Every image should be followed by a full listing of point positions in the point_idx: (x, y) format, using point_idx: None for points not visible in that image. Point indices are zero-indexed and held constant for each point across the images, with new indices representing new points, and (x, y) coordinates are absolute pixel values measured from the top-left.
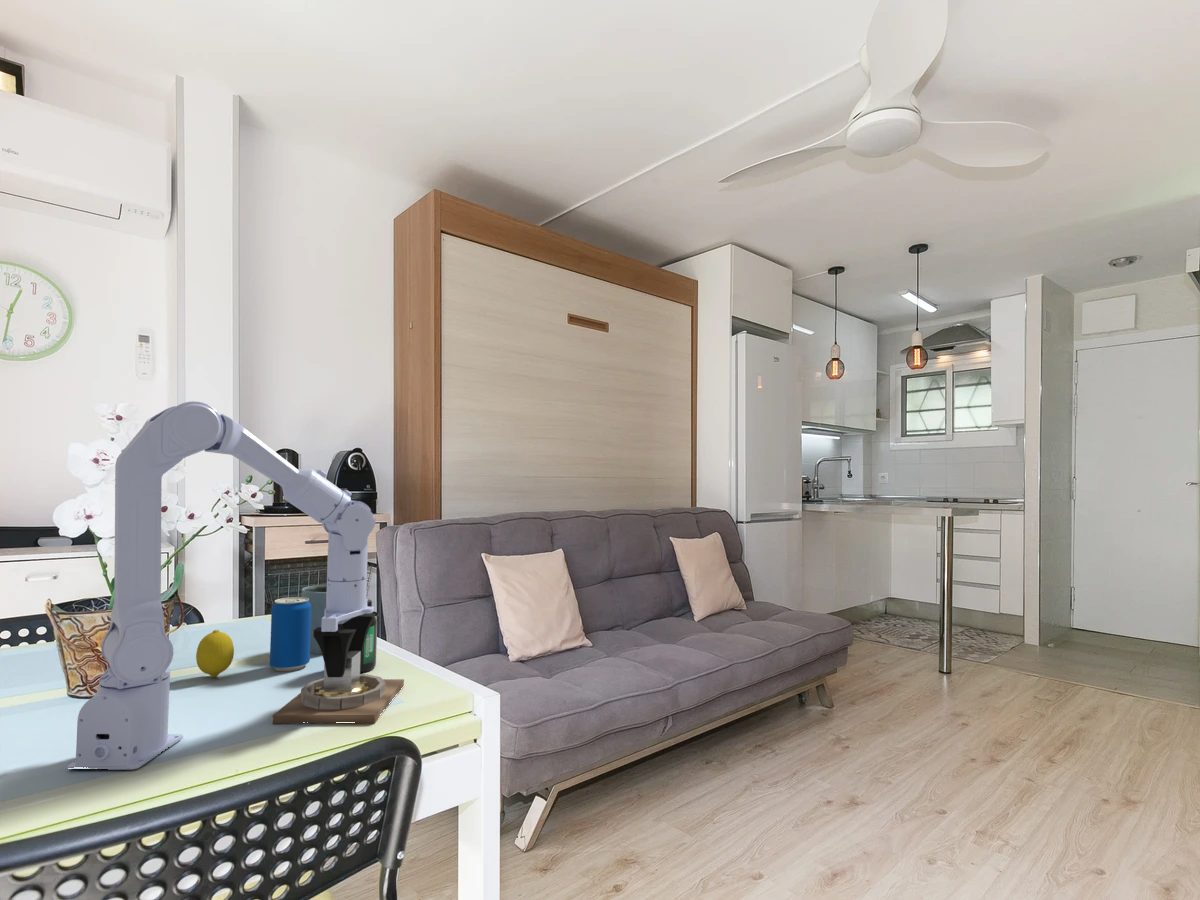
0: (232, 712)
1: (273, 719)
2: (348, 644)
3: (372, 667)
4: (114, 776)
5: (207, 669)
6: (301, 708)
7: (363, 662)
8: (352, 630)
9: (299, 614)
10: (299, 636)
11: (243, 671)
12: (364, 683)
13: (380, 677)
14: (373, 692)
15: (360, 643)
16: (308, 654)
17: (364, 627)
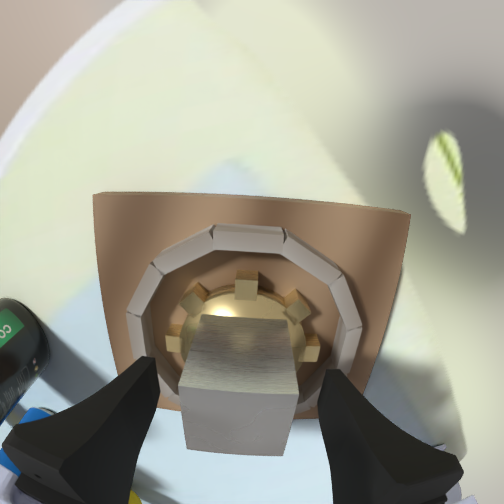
0: (275, 460)
1: None
2: (395, 442)
3: (15, 302)
4: (446, 448)
5: (140, 501)
6: None
7: (22, 328)
8: (429, 485)
9: None
10: None
11: None
12: (200, 300)
13: (154, 261)
14: (308, 250)
15: (127, 402)
16: (34, 418)
17: (97, 447)
